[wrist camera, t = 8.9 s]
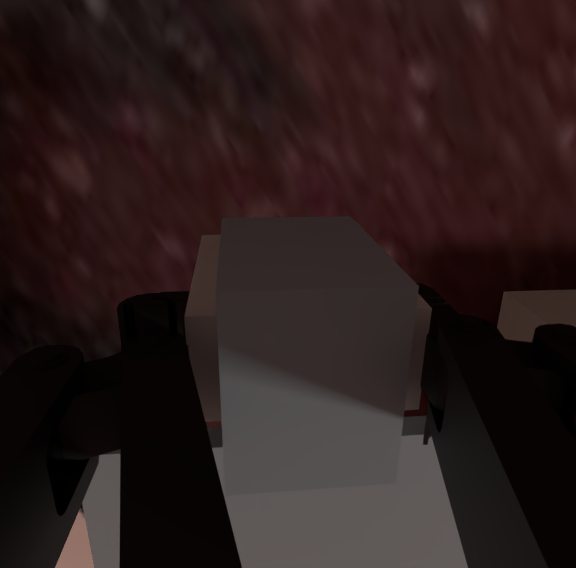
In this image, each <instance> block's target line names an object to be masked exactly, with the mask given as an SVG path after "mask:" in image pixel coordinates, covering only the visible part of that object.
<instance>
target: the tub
mask: <svg viewBox="0 0 576 568" xmlns="http://www.w3.org/2000/svg"><path fill="white" fill-rule="evenodd" d="M557 323H561V324H565V325H566V324H568V325H572V326H575V327H576V289H572V290H537V291H504V293H503V298H502V303H501V308H500V314H499V319H498V324H497V328H498V330H499V331H500V333H501V334H502V335H503V337H504V338H505V339H508V340H516V341H525V342H532V340H533V336H534V331H535V328H537V327H538V326H540V325H545V324H557Z"/></svg>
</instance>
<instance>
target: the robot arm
mask: <svg viewBox="0 0 576 568" xmlns="http://www.w3.org/2000/svg"><path fill="white" fill-rule="evenodd" d="M220 236H221V235H202V239H201V243H200V248H199V252H198V257H197V261H196V266H195V270H194V275H193V279H192V284H191V288H190V291H181V292H161V293H148V294H142V295H136V296H134V297H131V298H128V299H126V300H124V301H122V302H121V303H119V305H118V307H117V314H118V321H119V329H120V337H121V352H120V353H118V354H115V355H112V356H110V357H106V358H102V359H97V360H92V361H87V362H84V359H83V353H82V352H81V351H80V349H78V348H75V347H73V346H67V345H55V346H52V345H47V346H42V348H41V347H39V348H35V349H33V350H32V351H30V352H28V353H25V354H23V355H21V356H20V357H19V358H17V359H16V360H15V361H13V362H12V364H11V365H10V366H9V367H8V368H7V369H6V370H5V371H4V372H3V374H2V375H1V376H0V568H55V566H56V564H57V561H58V559H59V557H60V554H61V552H62V549H63V547H64V544H65V542H66V540H67V537H68V535H69V532H70V530H71V528H72V525H73V523H74V521H75V518H76V516H77V514H78V511H79V509H80V507H81V504H82V502H83V499H84V497H85V495H86V492H87V490H88V488H89V485H90V483H91V480H92V478H93V476H94V473H95V471H96V469H97V466H98V463H99V455H102V454H105V453H109V452H112V451H116V450H120V563H119V568H242V565H241V561H240V558H239V554H238V550H237V546H236V542H235V538H234V534H233V530H232V526H231V522H230V518H229V514H228V510H227V506H226V502H225V498H224V494H223V490H222V486H221V482H220V478H219V474H218V470H217V466H216V462H215V458H214V454H213V450H212V446H211V442H210V438H209V434H208V430H207V426H206V422H209V421H222V419H221V398H220V377H219V356H218V335H217V313H216V281H217V270H218V259H219V247H220ZM416 284H417V285H418V286H419V290H418V299H417V307H416V316H415V325H414V333H413V342H412V350H411V359H410V367H409V376H408V384H407V393H406V401H405V410H419V404H420V396H421V389H422V390H423V391H424V393H425V394H426V396H427V398H428V399H429V401H428V408H427V415H426V422H425V430H424V437H423V445H428V439H429V438H430V437H431V436H432V440H433V443H434V447H435V451H436V454H437V458H438V461H439V465H440V469H441V472H442V476H443V480H444V483H445V487H446V490H447V494H448V498H449V501H450V505H451V508H452V512H453V516H454V519H455V523H456V526H457V530H458V534H459V537H460V541H461V544H462V548H463V552H464V555H465V559H466V562H467V566H468V568H576V327H575V326H572V325H568V324H566V325H565V324H561V323H557V324H545V325H540V326H538V327H537V328H535V331H534V336H533V340H532V342H525V341H516V340H508V339H505V338H504V337H503V335H502V334H501V333H500V331H499V330H498V328H497V327H496V326H495V325H493V324H492V323H490V322H489V321H487V320H484V319H481V318H478V317H474V316H469V315H459V314H458V313H457V312H456V311H455V310H454V309H453V308H452V307H451V306H450V305H449V304H447V302H446V301H445V300H444V299H443V298H441V296H440V295H439V294H438V293H437V292H435V291H434V290H433V289H431V288H429V287H427V286H425V285H423V284H421V283H416Z"/></svg>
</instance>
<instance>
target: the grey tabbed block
mask: <svg viewBox="0 0 576 568" xmlns="http://www.w3.org/2000/svg"><path fill="white" fill-rule="evenodd" d="M418 290H419V286H418V285H417V284H416V283H415V282H414V281H413V280H412V279H411V278H410V277H409V276H408V275H407V274H406V273H405V272H404V270H403V269H402V268H401V267H400V266H399V265H398V264H397V263H396V262H395V261H394V260H393V259H392V258H391V257H390V256H389V255H388V254H387V253H386V252H385V251H384V250H383V249H382V248H381V247H380V246H379V245H378V244H377V243H376V242H375V241H374V240H373V239H372V238H371V237H370V236H369V235H368V234H367V233H366V232H365V231H364V230H363V229H362V228H361V227H360V226H359V225H358V224H357V223H356V222H355V221H354V220H353V219H352V218H351V217H284V218H222V225H221V236H220V247H219V259H218V270H217V281H216V313H217V335H218V356H219V377H220V398H221V419H222V428H207V430H208V434H209V438H210V442H211V446H212V450H213V454H214V458H215V462H216V466H217V470H218V474H219V478H220V482H221V486H222V490H223V494H224V498H225V502H226V506H227V510H228V514H229V518H230V522H231V526H232V530H233V534H234V538H235V542H236V546H237V550H238V554H239V558H240V561H241V565H242V568H468V566H467V562H466V559H465V555H464V552H463V548H462V544H461V541H460V537H459V534H458V530H457V526H456V523H455V519H454V516H453V512H452V508H451V505H450V501H449V498H448V494H447V490H446V487H445V483H444V480H443V476H442V472H441V469H440V465H439V461H438V458H437V454H436V451H435V447H434V443H433V440H432V436H431V437H430V438H429V439H428V445H423V437H424V430H425V422H426V416H411V417H404V410H405V401H406V393H407V384H408V376H409V367H410V359H411V350H412V342H413V333H414V325H415V316H416V307H417V299H418ZM82 504H83V509H84V515H85V520H86V525H87V530H88V536H89V541H90V547H91V552H92V557H93V563H94V568H119V563H120V450H116V451H112V452H109V453H105V454H102V455H99V463H98V466H97V469H96V471H95V473H94V476H93V478H92V480H91V483H90V485H89V488H88V490H87V492H86V495H85V497H84V499H83V502H82Z"/></svg>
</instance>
